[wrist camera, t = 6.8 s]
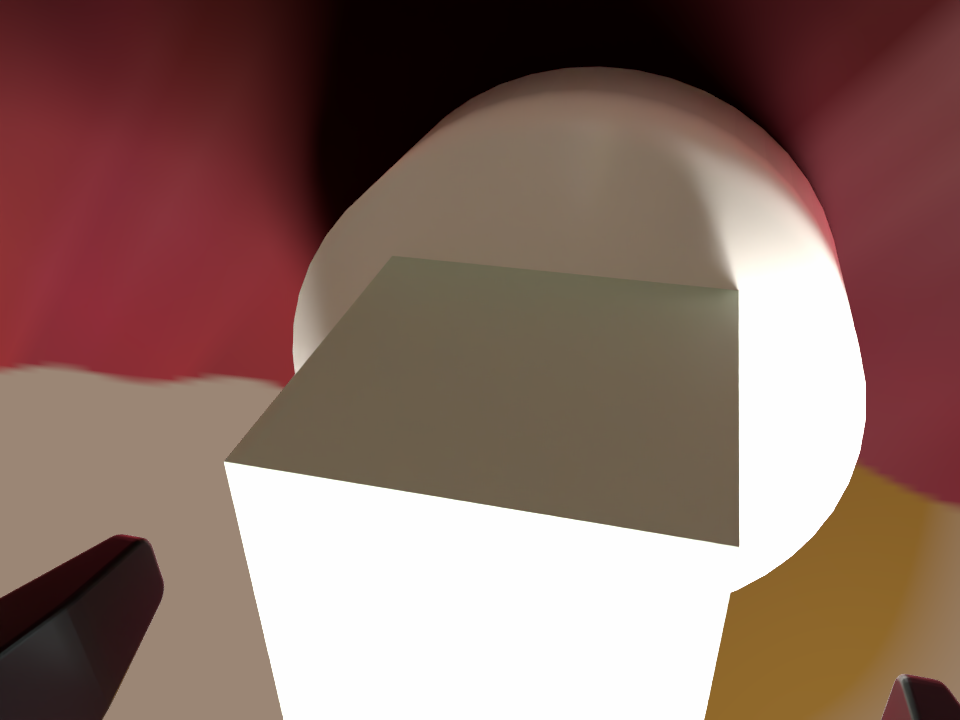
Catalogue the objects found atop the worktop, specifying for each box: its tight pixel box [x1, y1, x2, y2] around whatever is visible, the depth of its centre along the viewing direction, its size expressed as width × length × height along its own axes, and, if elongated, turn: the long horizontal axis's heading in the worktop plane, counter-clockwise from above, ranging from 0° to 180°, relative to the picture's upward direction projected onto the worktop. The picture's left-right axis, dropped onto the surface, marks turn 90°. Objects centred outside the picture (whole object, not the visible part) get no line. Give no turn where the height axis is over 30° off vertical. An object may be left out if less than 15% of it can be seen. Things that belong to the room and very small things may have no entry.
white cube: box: [224, 256, 740, 720], centre depth 11 cm, size 5×5×5 cm
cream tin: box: [293, 67, 866, 592], centre depth 15 cm, size 9×9×4 cm
